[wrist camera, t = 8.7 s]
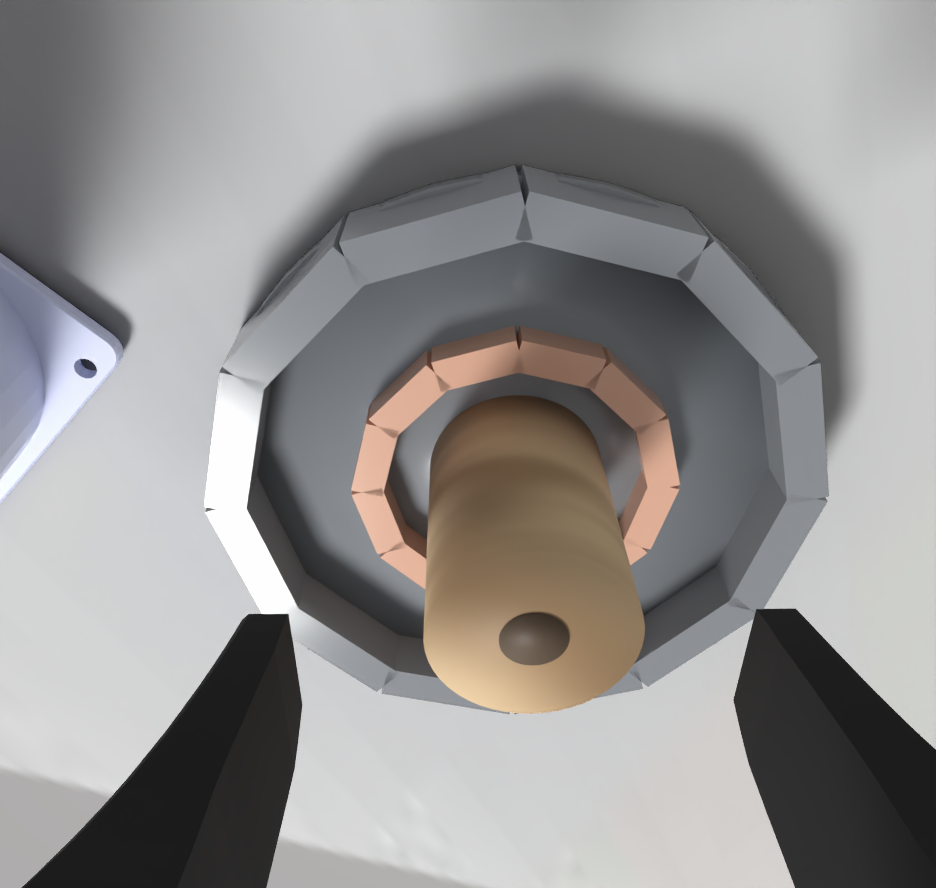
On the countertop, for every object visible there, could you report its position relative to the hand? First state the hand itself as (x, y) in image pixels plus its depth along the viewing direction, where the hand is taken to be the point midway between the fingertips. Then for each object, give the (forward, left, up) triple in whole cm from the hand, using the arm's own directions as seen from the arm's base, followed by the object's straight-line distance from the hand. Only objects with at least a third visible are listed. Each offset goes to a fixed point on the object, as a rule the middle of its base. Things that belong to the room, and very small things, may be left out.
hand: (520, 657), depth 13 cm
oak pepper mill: (-1, -2, -9) cm, 9 cm away
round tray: (-1, -2, -9) cm, 10 cm away
